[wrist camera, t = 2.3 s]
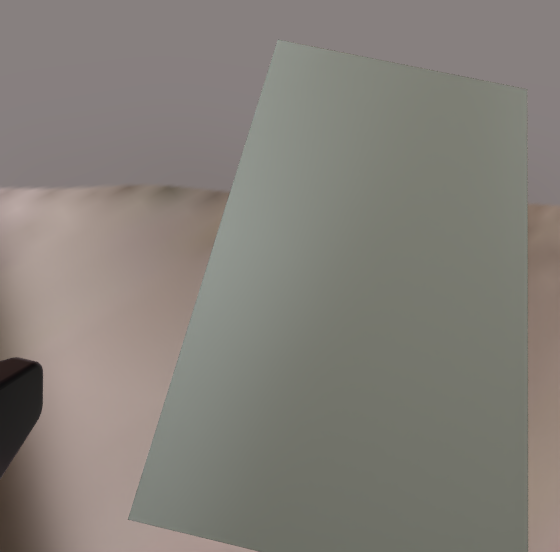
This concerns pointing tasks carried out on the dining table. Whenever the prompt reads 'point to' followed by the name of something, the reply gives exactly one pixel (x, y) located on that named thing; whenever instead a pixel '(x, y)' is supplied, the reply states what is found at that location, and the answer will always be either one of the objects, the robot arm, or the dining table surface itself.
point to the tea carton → (358, 323)
